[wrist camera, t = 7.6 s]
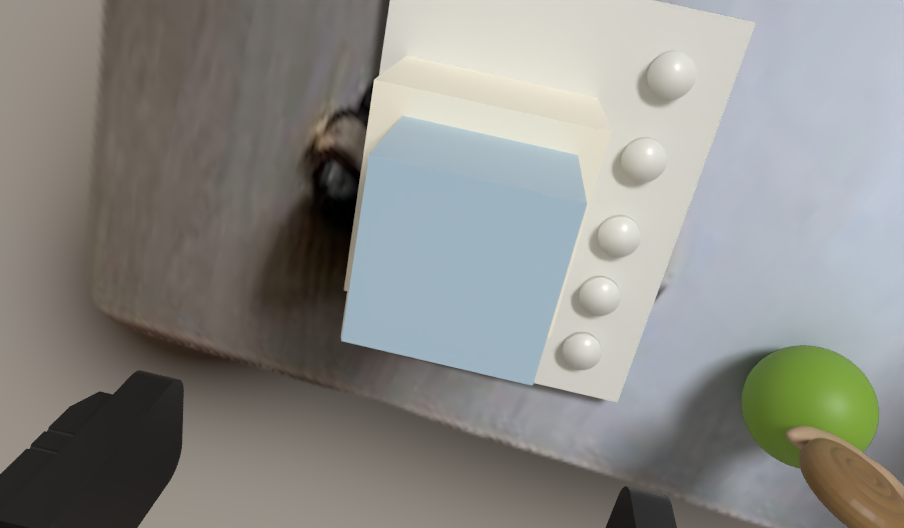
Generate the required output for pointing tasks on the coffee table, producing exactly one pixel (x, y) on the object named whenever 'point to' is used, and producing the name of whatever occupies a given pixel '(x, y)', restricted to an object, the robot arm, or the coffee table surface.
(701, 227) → the coffee table surface
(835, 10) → the coffee table surface
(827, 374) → the snail figurine
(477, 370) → the blue brick
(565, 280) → the base brick
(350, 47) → the coffee table surface
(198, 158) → the coffee table surface
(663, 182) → the build plate
